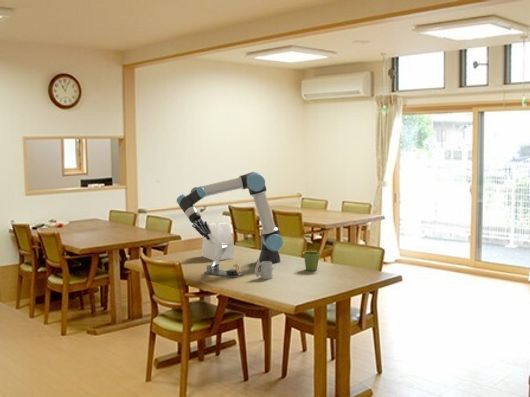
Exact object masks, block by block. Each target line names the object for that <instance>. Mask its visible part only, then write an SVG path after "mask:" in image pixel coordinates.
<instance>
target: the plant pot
mask: <svg viewBox="0 0 530 397" xmlns="http://www.w3.org/2000/svg"><path fill="white" fill-rule="evenodd" d="M321 254H322V253H321V252H319V251H315V250H313V251H311V250H310V251H309V250H308V251H303V252H302V255H303V259H304V265H305V270H306V271H309V272H310V271H313V272H314V270H315V271H317V270H318V265H319V259H320V255H321Z"/></svg>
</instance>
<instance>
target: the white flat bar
mask: <svg viewBox="0 0 530 397" xmlns="http://www.w3.org/2000/svg"><path fill="white" fill-rule="evenodd" d="M227 247H228V246H227V245H225V246H222V247H221V248H220V250H219V252H218V253H217V255H216V257H215V258H214V260H212V262H211V263H210V266H212V269H214V267H216V265H217V264H219V263H220V261H221V260H220V258H221V257H222V255H223V254H224V252H225V250H226V249H227Z"/></svg>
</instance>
